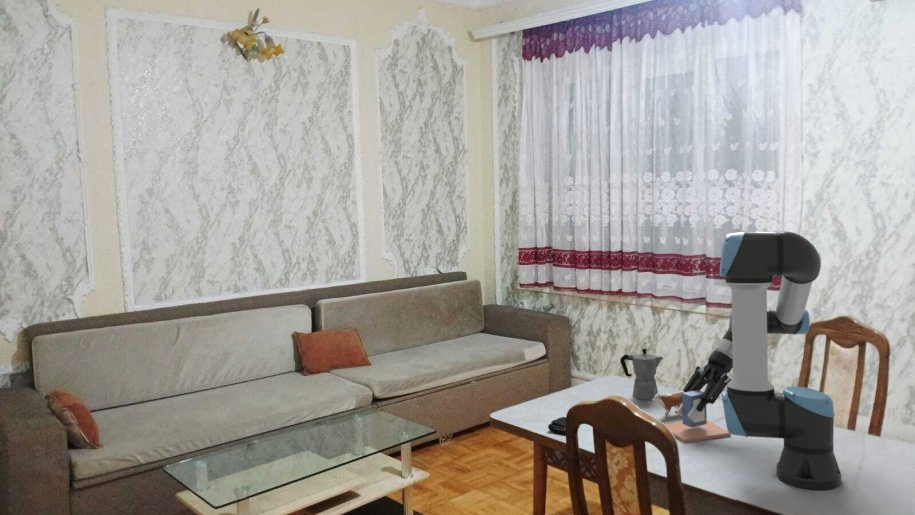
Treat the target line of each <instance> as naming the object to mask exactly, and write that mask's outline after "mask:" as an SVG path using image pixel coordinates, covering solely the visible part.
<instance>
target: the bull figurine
mask: <svg viewBox="0 0 915 515" xmlns="http://www.w3.org/2000/svg"><path fill="white" fill-rule="evenodd" d="M682 393H685V392H684V391H680V392H676V393H662V394H661V393H660V392H658V393H657V394H656V395H655V397H654V398H653V399H652V400H651V401H652V402H653V403H655V402H656V403H657V404H659V405H660V407H662V408H663V409H664V410H665V413H664V415H665V418H667V417H670V413H671V410H672V408H673V407H674V408H675V410H674V413H677V414H678V412H677V409H678V408H679V407H680V405H681V404H682V403H681V402H682Z"/></svg>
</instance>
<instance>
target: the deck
mask: <svg viewBox="0 0 915 515" xmlns="http://www.w3.org/2000/svg"><path fill="white" fill-rule="evenodd" d="M703 393H704V391H701V390H700V391H699V390H694V391H690V392H685V393H682V415H683V417H682V422H683V424H684V425H686V426H689V427H691V428H692V427H697V426H701V425H705V424H707V420H708V419H707V405H706V406H705V407H704V409H703V410H702V411H701V412H699V414H698V415H697V417H696V418H695V420H694V421H692V420H691V419H690V418H689V417H688V416H687V415H688V413H689V412H690V410H691V409H692V407H693V406H694V404H695V403H696V402H697V400H698V399H700V400H701V398H700V397H702V395H703Z"/></svg>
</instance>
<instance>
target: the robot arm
mask: <svg viewBox="0 0 915 515" xmlns="http://www.w3.org/2000/svg"><path fill="white" fill-rule="evenodd" d="M719 266H720V267H719V276H720V277H722V278H725V279H724V280H725V284H726V286H728V288H730V290H731V312H730V314H729V324H728V328H727V330H726V332H725V333H724V335H723V337H722V338H721V339H720V341H719V342H718V343H717V344H716V347H715V348H714V350H713V351H712V353H711V354H710V356H709V357H708V359H707V360H708V362H707V364H705V366H704V367H703V366H702V367H700V366H699V365H698V366H697V365H696V367H695V371H694V373H693V374H692V375H691V377H690V378H689V380H688V382H687V383H686V385H685V386H684V387H683V389H682V390H683V391H682V392H690V391H694V390H699V391H701V390H702V389H703V388H704V387H705V385H706V387H705V389H704V391H703V392H704V393H703V395H702V397H700V398H701V400H700V399H698V400H697V402H696V403H695V404H694V406H693V407H692V409H691V410H690V412H689V413H688V415H687V416H688V417H689V418H690V419H691V420H692V421H694V420H695V418H696V417H697V415H698V414H699V412H701V411H702V410H703V409H704V407H705V406H706V407H707V405H708V404H711V405H714V404H715V403H716V401H717V399H718V398H719V397H720V395H721V400H722V408H723V411H724V417H725V418H724V419H725V426H726V430H727V431H728V432H729V433H730V434H731V436H732V435H733V436H738V437H739V436H741V437H745V438H748V437H751V438H768V439H769V438H771V439H783V447H782V451H781V452H780V453H781V454H780V457H779V460H778V462H777V463H776V468H775V469H776V472H775V473H776V476H777V478H778V479H779V480H781V481H782V482H784V483H785V484H788V485H790V486H794V487H797V488H800V489H801V488H802V489H807V490H816V491H819V490H820V491H821V490H823V491H825V490H831V489H835V488H838V487H839V486H841V484H842V473H841V470H840V467H839V464H838V461H837V457H836V455H835V453H834V432H835V431H834V425H835V423H834V421H835V420H834V419H835V418H834V417H835V416H836V415H835V411H834V402H833V399H832V398H831V397H830V396H829V395H828V394H826V393H824V392H823V391H819V390H816V389H813V388H809V387H804V386H796V385H793V386H786V387H784V388H783V390H782V393H781V392H779V393H778V392H775V386H774V384H772V383H771V382H770V380H769V375H768V373H769V371H768V368H769V367H768V366H769V365H768V361H769V360H768V334H769V335H771V334H773V335H774V334H775V335H776V334H777V335H796V336H797V335H805V334H807V333H808V332H809V330H810V325H811V324H810V323H811V322H810V314H809V311H808V310H806V306H807V303H808V300H809V297H810V296H809V295H810V292H811V290H812V284H813V282H814V281H815V280H817V278H818V277H819V275H820V272H821V267H822V260H821V257H820V253H819V252H818V250H817V248H816V247H815V246H814V244H813V243H812V242H810V240H808V239H807V238H805V237H804V236H802V235H800V234H798V233H796V232H792V231H784V230H783V231H781V230H780V231H755V232H754V231H751V232H750V231H747V232H746V231H741V232H731V233H727V234H726V235H725V236H724V239H723V243H722V247H721V256H720V263H719ZM774 277H781V280H780V281H781V282H780V285H779V286H780V287H779V291H778V296H777V302H776V303H777V304H776V307H775V308H768V305H767V304H768V303H767V302H768V301H767V298H768V296H767V291H768V289H769V288H770V287H771V286H772V285H773V283H774V280H773V279H774ZM731 371H732V379H731V378H730V377H729V375H728V374H729V373H730V372H731ZM725 388H726V390H725ZM681 403H682V402H681ZM676 409H677V408H676ZM677 414H679V415H680V416H681V417H682V418H683V415H682V404H681V405H680V407H679V408H678V409H677Z"/></svg>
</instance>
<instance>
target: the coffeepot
mask: <svg viewBox="0 0 915 515" xmlns="http://www.w3.org/2000/svg"><path fill="white" fill-rule="evenodd" d="M641 351H642V352H641V353H636V354H624V355H622V357H620V360H619V361H620V362H619V363H620V364H621V367H622V370H623V372H624V375H625V376H626V377H629V378H630V377H632V375H633V374H632V373H629V370H628V366H627V362H626V360H627V361H631V362H632V366H633V371H634V372H633V373H634V374H635V379H634V384H633V392H632V396H633V397H634V398H635V399H638V400H642V401H644V400H645V401H650V400H651V401H652V399H653V398H654V397H655V395H656V394H657V393H659V391H658V385H657V381H656V378H655V377H656V374H657V368H658V367H659V365H660V363H661V361H662V360H664V357H663V356H661V355H656V354H652V353H647V351H648V349H647V348H642V350H641Z"/></svg>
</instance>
